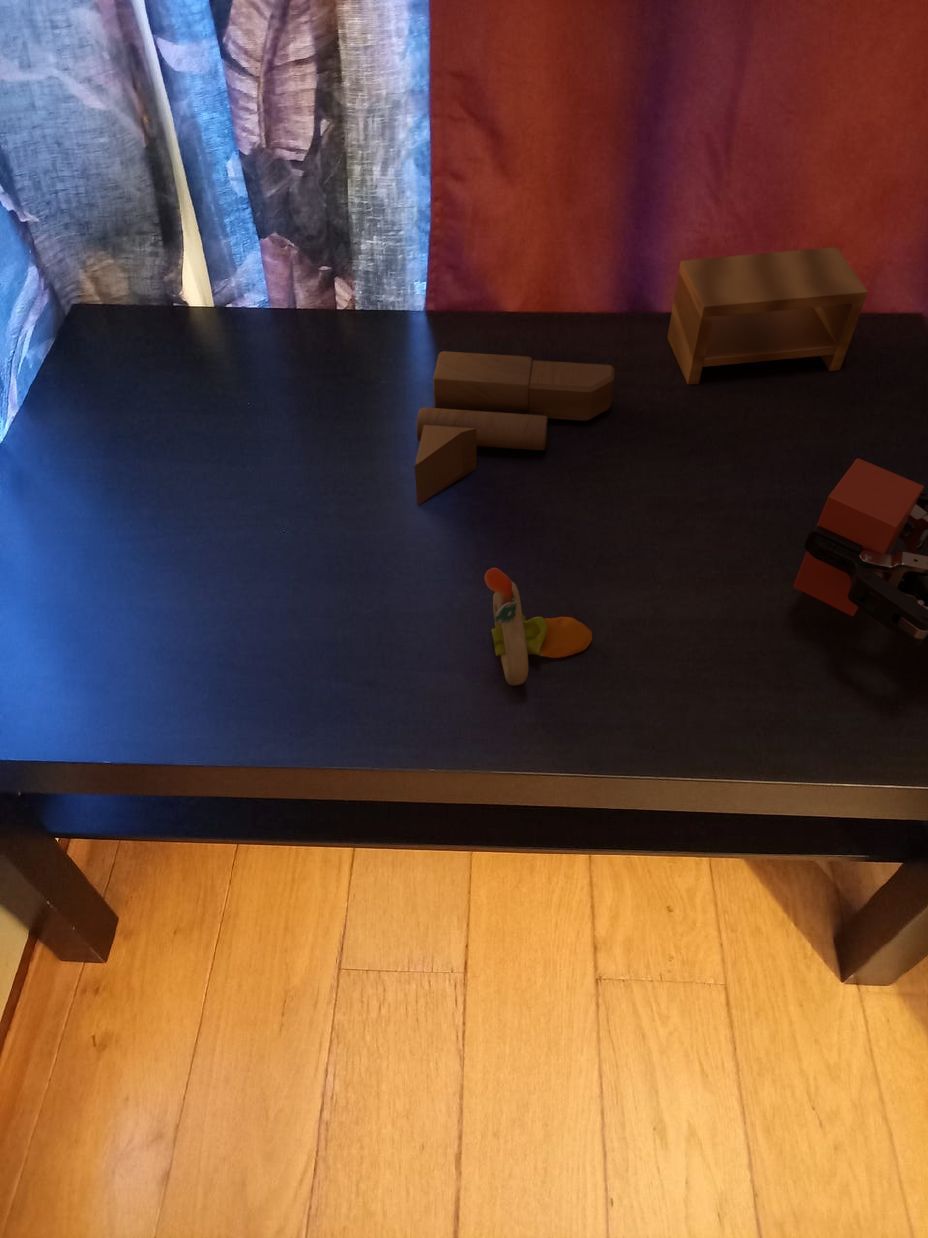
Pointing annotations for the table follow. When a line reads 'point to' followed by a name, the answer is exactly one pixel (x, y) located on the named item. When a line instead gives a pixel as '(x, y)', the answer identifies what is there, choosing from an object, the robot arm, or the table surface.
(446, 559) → the table surface
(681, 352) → the shelf
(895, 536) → the block
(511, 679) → the rattle
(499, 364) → the wooden block set
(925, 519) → the robot arm
